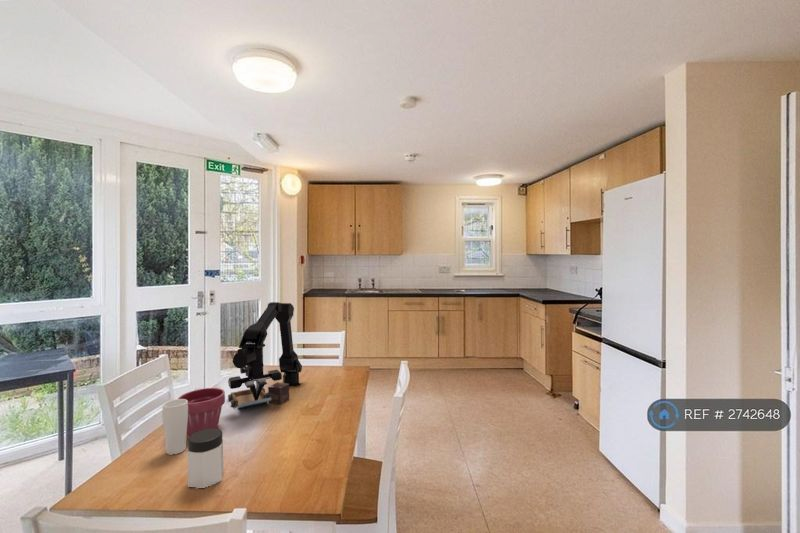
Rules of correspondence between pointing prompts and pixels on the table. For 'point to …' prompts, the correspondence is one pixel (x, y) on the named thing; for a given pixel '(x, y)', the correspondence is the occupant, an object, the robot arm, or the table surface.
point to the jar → (205, 458)
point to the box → (278, 393)
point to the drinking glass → (175, 425)
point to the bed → (244, 397)
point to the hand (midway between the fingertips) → (256, 400)
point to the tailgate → (254, 402)
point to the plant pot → (203, 409)
